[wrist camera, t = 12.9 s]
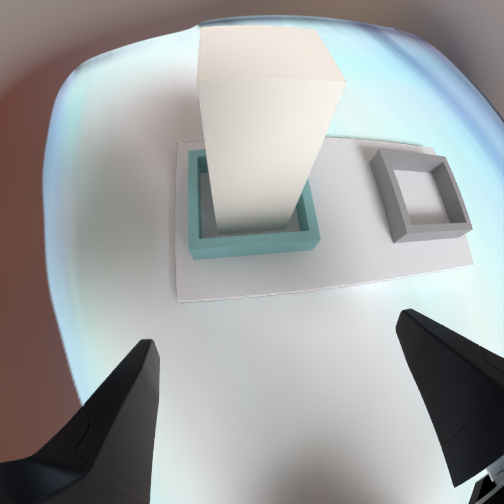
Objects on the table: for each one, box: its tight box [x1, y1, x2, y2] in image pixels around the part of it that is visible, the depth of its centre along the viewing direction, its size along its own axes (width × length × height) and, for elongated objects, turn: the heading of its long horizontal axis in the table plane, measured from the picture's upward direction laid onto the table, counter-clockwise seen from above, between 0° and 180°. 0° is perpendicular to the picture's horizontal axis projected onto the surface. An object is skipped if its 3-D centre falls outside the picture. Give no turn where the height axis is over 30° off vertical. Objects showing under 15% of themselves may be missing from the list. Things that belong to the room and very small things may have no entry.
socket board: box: [175, 137, 473, 303], centre depth 19 cm, size 24×12×3 cm, turn 96°
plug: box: [197, 25, 346, 234], centre depth 13 cm, size 5×4×12 cm
